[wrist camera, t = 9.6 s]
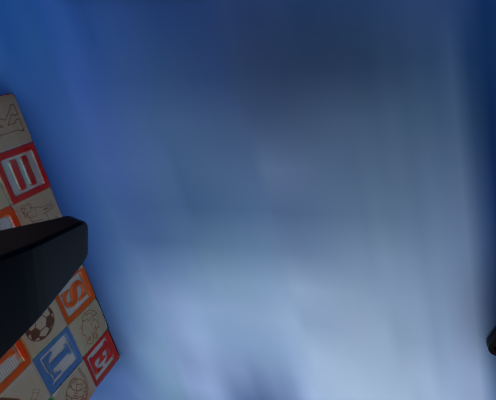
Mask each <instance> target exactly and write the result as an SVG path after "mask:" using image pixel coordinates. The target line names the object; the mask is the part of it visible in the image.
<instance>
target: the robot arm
mask: <svg viewBox="0 0 496 400" xmlns="http://www.w3.org/2000/svg"><path fill="white" fill-rule="evenodd" d="M87 254H88V226H87V224H86V223H85V222H84V221H82V220H79V219H77V218H74V217H71V216H65V217H60V218H56V219H51V220H46V221H42V222H37V223H32V224H28V225H23V226H18V227H14V228H9V229H5V230H0V359H1V358H2V357H3V356H4V355H5V354H6V353H7V351H8V350H9V349H10V348H11V347H12V346H13V345H14V344H15V343H16V342H17V341H18V340H19V339H20V338H21V337H22V336H23V335H24V334H25V333H26V332H27V331H28V330H29V329H30V328H31V327H32V325H33V324H34V323H35V322H36V321H37V320H38V319H39V318H40V317H41V316H42V314H43V313H44V312H45V311H46V310H47V308H48V307H49V306H50V305H51V303H52V302H53V301H54V300H55V298H56V297H57V296H58V294H59V293H60V292H61V291H62V289H63V288H64V287H65V286H66V284H67V283H68V282H69V281H70V279H71V278H72V277H73V275H74V274H75V273H76V272H77V270H78V269H79V268H80V267H81V265H82V264H83V263H84V261H85V259H86V257H87ZM486 343H487V347H488V350H489V351H490V353H491V354H493V355H495V356H496V329H495V330H494V332H493V333H492V334H491V336H490V337H489V338H488V339H487V342H486Z"/></svg>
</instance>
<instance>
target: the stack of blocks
mask: <svg viewBox="0 0 496 400" xmlns="http://www.w3.org/2000/svg"><path fill="white" fill-rule="evenodd" d="M60 217H62V214H61V212H60V210H59V207H58V205H57V202H56V200H55V197H54V195H53V192H52V190H51V188H50V183H49V181H48V178H47V175H46V173H45V171H44V168H43V166H42V163H41V161H40V158H39V156H38V153H37V151H36V148H35V146H34V143H33V142H32V138H31V135H30V133H29V130H28V128H27V125H26V123H25V120H24V118H23V115H22V113H21V110H20V108H19V106H18V103H17V101H16V98H15V96H14V94H6V95H2V96H0V230H5V229H9V228H14V227H18V226H23V225H28V224H32V223H37V222H42V221H46V220H51V219H56V218H60ZM107 328H108V326H107V323H106V321H105V318H104V316H103V313H102V311H101V308H100V306H99V304H98V301H97V299H96V298H95V294H94V291H93V289H92V286H91V284H90V281H89V279H88V276H87V273H86V271H85V268H84V266H83V265H81V267H80V268H79V269H78V270H77V272H76V273H75V274H74V275H73V277H72V278H71V279H70V281H69V282H68V283H67V284H66V286H65V287H64V288H63V289H62V291H61V292H60V293H59V294H58V296H57V297H56V298H55V300H54V301H53V302H52V303H51V305H50V306H49V307H48V308H47V310H46V311H45V312H44V313H43V314H42V316H41V317H40V318H39V319H38V320H37V321H36V322H35V323H34V324H33V325H32V327H31V328H30V329H29V330H28V331H27V332H26V333H25V334H24V335H23V336H22V337H21V338H20V339H19V340H18V341H17V342H16V343H15V344H14V345H13V346H12V347H11V348H10V349H9V350H8V351H7V353H6V354H5V355H4V356H3V357H2V358H1V359H0V400H89V398H90V397H91V396H92V394H93V393H94V392H95V390H96V387H97V386H98V385H99V384H100V382H101V381H102V380H103V379H104V377H105V376H106V375H107V374H108V372H109V371H110V370H111V368H112V367H113V366H114V364H115V363H116V362H117V360H118V359H119V355H118V352H117V350H116V348H115V345H114V343H113V341H112V338H111V336H110V334H109V331H108V330H107Z"/></svg>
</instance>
